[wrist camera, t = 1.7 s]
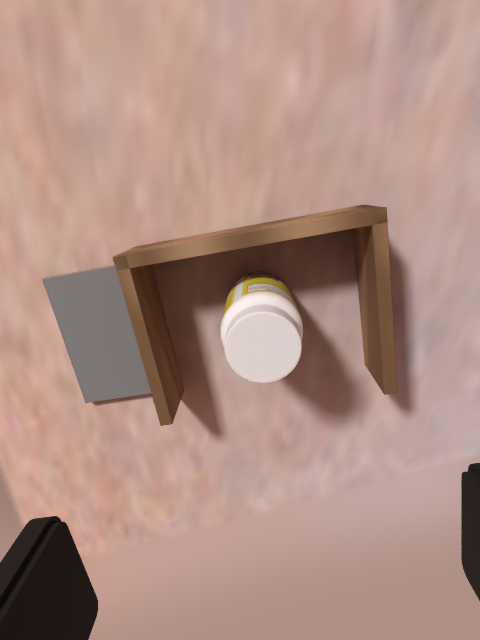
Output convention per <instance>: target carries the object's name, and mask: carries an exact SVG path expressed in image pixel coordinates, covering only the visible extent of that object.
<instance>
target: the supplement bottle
mask: <svg viewBox="0 0 480 640" xmlns="http://www.w3.org/2000/svg"><path fill="white" fill-rule="evenodd" d="M220 334H221V340H222V344H223V346H224V349H225V355H226V358H227V361H228V363H229V365H230V366H231V368H232V369H233V370H234V371H235V372H236V373H237V374H238V375H239V376H241V377H242V378H244V379H246V380H249V381H252V382H256V383H270V382H274V381H277V380H280V379H282V378H284V377H285V376H287V375H288V374H289V373H290V372H291V371H292V370H293V369H294V368H295V367H296V365H297V363H298V361H299V359H300V356H301V351H302V343H301V342H302V338H303V323H302V319H301V316H300V313H299V311H298V309H297V306H296V304H295V302H294V299H293V297H292V294H291V292H290V290H289V288H288V287H287V285H286V284H285V283H284V282H283V281H282V280H281V279H279V278H278V277H276V276H274V275H272V274H269V273H263V272H256V273H251V274H248V275H246V276H244V277H242V278H240V279H239V280H238V281H237V282H236V283H235V284H234V285H233V286H232V288H231V289H230V291H229V293H228V296H227V300H226V305H225V309H224V314H223V318H222V322H221V329H220Z"/></svg>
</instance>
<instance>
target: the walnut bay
mask: <svg viewBox="0 0 480 640" xmlns="http://www.w3.org/2000/svg"><path fill="white" fill-rule="evenodd" d="M347 229H353V232H354V243H355V255H356V267H357V278H358V290H359V302H360V313H361V325H362V337H363V348H364V360H365V365H366V367H367V368H368V370H369V371H370V373H371V375H372V376H373V378H374V379H375V381H376V382H377V384H378V385H379V387H380V389H381V390H382V392H383V393H384V395H385V394H393V393H397V380H396V363H395V346H394V328H393V311H392V294H391V277H390V260H389V242H388V225H387V208H386V207H378V206H369V205H360V206H355V207H349V208H344V209H338V210H333V211H328V212H322V213H317V214H311V215H306V216H300V217H295V218H289V219H284V220H278V221H273V222H268V223H262V224H257V225H251V226H246V227H240V228H235V229H229V230H224V231H218V232H213V233H208V234H202V235H197V236H191V237H186V238H180V239H175V240H169V241H164V242H158V243H153V244H148V245H142V246H137V247H134V248H132V249H129V250H127V251H125V252H123V253H121V254H118V255H116V256H114V257H113V261H114V264H115V268H116V271H117V275H118V278H119V282H120V285H121V289H122V292H123V296H124V299H125V303H126V306H127V310H128V313H129V317H130V320H131V324H132V327H133V331H134V334H135V338H136V341H137V345H138V348H139V352H140V355H141V359H142V362H143V365H144V369H145V372H146V376H147V379H148V383H149V386H150V390H151V393H152V397H153V400H154V404H155V407H156V411H157V414H158V418H159V421H160V425H161V426H162V425H169V424H172V423H173V420H174V418H175V415H176V412H177V409H178V406H179V403H180V401H181V398H182V395H183V392H184V389H183V385H182V381H181V378H180V374H179V370H178V366H177V362H176V358H175V354H174V350H173V346H172V342H171V338H170V334H169V331H168V327H167V323H166V319H165V315H164V311H163V307H162V303H161V299H160V295H159V291H158V287H157V284H156V280H155V276H154V272H153V268H152V264H157V263H162V262H168V261H174V260H179V259H185V258H190V257H196V256H202V255H207V254H213V253H218V252H224V251H230V250H235V249H241V248H246V247H252V246H258V245H263V244H269V243H275V242H280V241H286V240H291V239H297V238H303V237H308V236H314V235H319V234H325V233H331V232H336V231H342V230H347Z"/></svg>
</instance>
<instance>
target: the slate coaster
mask: <svg viewBox="0 0 480 640" xmlns="http://www.w3.org/2000/svg"><path fill="white" fill-rule="evenodd" d="M42 280H43V283H44V286H45V288H46V291H47V294H48V297H49V300H50V303H51V306H52V308H53V311H54V314H55V317H56V320H57V323H58V326H59V328H60V331H61V334H62V337H63V340H64V343H65V346H66V348H67V351H68V354H69V357H70V360H71V363H72V366H73V368H74V371H75V374H76V377H77V380H78V383H79V385H80V388H81V391H82V394H83V397H84V400H85V403H89V402H96V401H103V400H110V399H116V398H123V397H130V396H137V395H144V394H150V393H151V390H150V386H149V383H148V379H147V376H146V372H145V369H144V365H143V362H142V359H141V355H140V352H139V348H138V345H137V341H136V338H135V334H134V331H133V327H132V324H131V320H130V317H129V313H128V310H127V306H126V303H125V299H124V296H123V292H122V289H121V285H120V282H119V278H118V275H117V271H116V268H115V265H114V266H108V267H103V268H97V269H91V270H86V271H80V272H75V273H69V274H64V275H58V276H52V277H47V278H44V279H42Z"/></svg>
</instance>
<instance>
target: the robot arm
mask: <svg viewBox="0 0 480 640" xmlns="http://www.w3.org/2000/svg"><path fill="white" fill-rule="evenodd" d="M462 565H463V569H464V572H465V574H466V577H467V579H468V581H469V583H470V584H471V586H472V588H473V590H474V591H475V593H476V595H477V597H478V598H479V600H480V463H475V464H470V465H469V468H468V472H463V473H462ZM97 612H98V600H97V597H96V594H95V592H94V589H93V587H92V585H91V582H90V580H89V577H88V575H87V572H86V570H85V567H84V565H83V563H82V560H81V558H80V555H79V553H78V550H77V548H76V545H75V543H74V541H73V538H72V536H71V533H70V531H69V528H68V526H67V524H66V523H65V522H61V520H60V518H59V517H57V516H52V517H44V518H36V519H32V520H30V521H29V522H28V523H27V524H26V526H25V527H24V529H23V530H22V532H21V533H20V535H19V536H18V538H17V539H16V540H15V542H14V543H13V545H12V546H11V548H10V549H9V551H8V552H7V554H6V555H5V557H4V558H3V560H2V561H1V562H0V640H88V639H89V636H90V633H91V630H92V628H93V625H94V622H95V619H96V616H97Z"/></svg>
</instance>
